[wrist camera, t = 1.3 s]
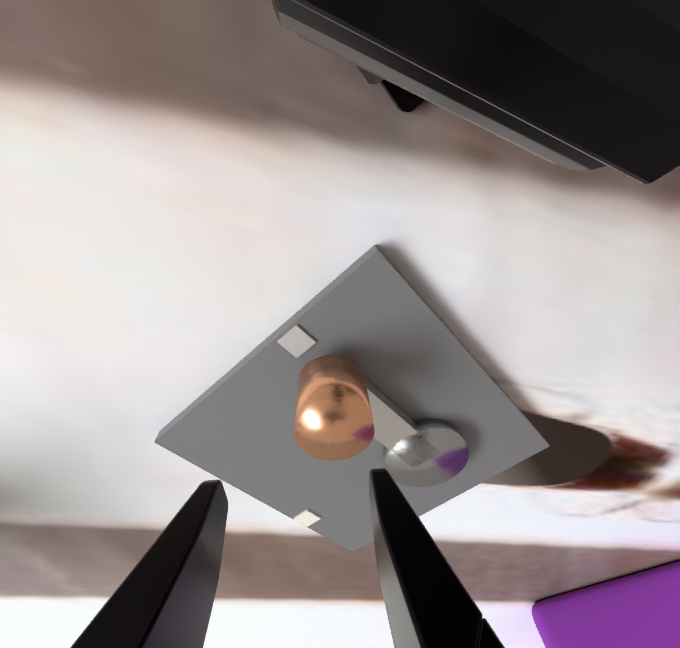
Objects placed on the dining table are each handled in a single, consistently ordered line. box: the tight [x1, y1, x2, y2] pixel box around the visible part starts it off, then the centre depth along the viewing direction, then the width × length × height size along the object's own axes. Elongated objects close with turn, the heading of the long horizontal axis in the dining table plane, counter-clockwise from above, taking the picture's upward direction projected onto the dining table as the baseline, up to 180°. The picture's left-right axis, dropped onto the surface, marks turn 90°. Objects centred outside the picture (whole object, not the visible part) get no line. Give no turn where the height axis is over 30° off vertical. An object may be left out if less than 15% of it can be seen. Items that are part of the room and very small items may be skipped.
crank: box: [294, 355, 469, 487], centre depth 22 cm, size 15×6×5 cm, turn 42°
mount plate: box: [155, 245, 549, 552], centre depth 26 cm, size 20×21×1 cm
